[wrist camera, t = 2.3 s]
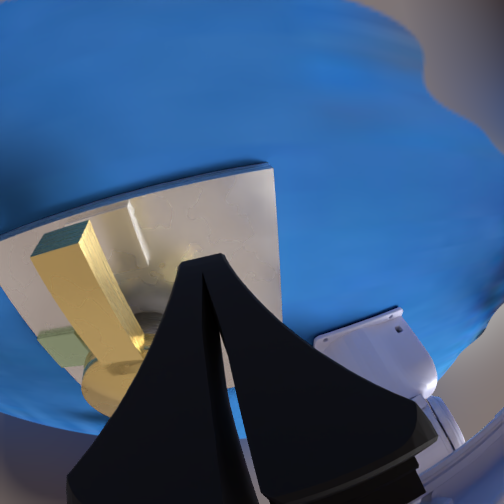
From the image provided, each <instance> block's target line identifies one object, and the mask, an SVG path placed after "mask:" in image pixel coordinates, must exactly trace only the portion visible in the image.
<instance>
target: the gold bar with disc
mask: <svg viewBox="0 0 504 504" xmlns="http://www.w3.org/2000/svg"><path fill="white" fill-rule="evenodd" d="M30 259H31V261H32V263H33V265H34V267H35V268H36V270H37V272H38V274H39V275H40V277H41V279H42V280H43V282H44V284H45V285H46V287H47V289H48V290H49V292H50V294H51V295H52V297H53V298H54V300H55V301H56V303H57V305H58V306H59V308H60V309H61V311H62V312H63V314H64V315H65V317H66V318H67V319H68V321H69V322H70V324H71V325H72V327H73V328H74V329H75V331H76V332H77V333H78V335H79V336H80V337H81V339H82V340H83V341H84V343H85V344H86V345H87V347H88V348H89V349H90V352H89V353H88V355H87V356H86V359H85V362H84V369H83V377H82V387H81V390H82V394H83V396H84V398H85V399H86V401H87V402H88V403H89V404H90V405H91V406H92V407H93V408H95V409H96V410H97V411H99V412H100V413H102V414H104V415H106V416H108V417H111V416H112V414H113V413H114V411H115V410H116V408H117V407H118V405H119V404H120V402H121V400H122V399H123V397H124V395H125V394H126V392H127V390H128V388H129V386H130V385H131V383H132V381H133V379H134V378H135V376H136V374H137V372H138V370H139V368H140V366H141V364H142V362H143V360H144V358H145V356H146V354H147V352H148V350H149V348H150V345H151V343H152V341H153V338H154V336H155V334H144V332H143V330H142V329H141V327H140V325H139V323H138V321H137V320H136V318H135V316H134V314H133V312H132V310H131V309H130V307H129V305H128V303H127V301H126V299H125V297H124V295H123V293H122V291H121V289H120V287H119V285H118V283H117V281H116V279H115V277H114V275H113V273H112V270H111V268H110V266H109V264H108V262H107V260H106V257H105V255H104V253H103V251H102V248H101V246H100V244H99V241H98V239H97V237H96V234H95V232H94V229H93V227H92V224H91V222H90V220H86V221H83V222H80V223H76V224H73V225H70V226H67V227H63V228H60V229H57V230H54V231H51V232H48V233H45V234H44V235H43V236H42V238H41V239H40V241H39V243H38V244H37V246H36V248H35V249H34V251H33V253H32V254H31V256H30Z"/></svg>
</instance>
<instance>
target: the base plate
mask: <svg viewBox="0 0 504 504" xmlns="http://www.w3.org/2000/svg"><path fill="white" fill-rule="evenodd" d="M86 220H90V222H91V224H92V227H93V229H94V232H95V234H96V237H97V239H98V241H99V244H100V246H101V248H102V251H103V253H104V255H105V257H106V260H107V262H108V264H109V266H110V268H111V270H112V273H113V275H114V277H115V279H116V281H117V283H118V285H119V287H120V289H121V291H122V293H123V295H124V297H125V299H126V301H127V303H128V305H129V307H130V309H131V310H132V312H133V314H134V316H135V318H136V320H137V321H138V323H139V325H140V327H141V329H142V330H143V332H144V334H156V331H157V329H158V326H159V324H160V322H161V319H162V317H163V314H164V311H165V308H166V306H167V303H168V300H169V297H170V294H171V291H172V288H173V285H174V281H175V278H176V274H177V270H178V266H179V264H180V263H181V262H183V261H187V260H191V259H196V258H200V257H205V256H209V255H213V254H218V253H222V254H224V255H225V257H226V259H227V261H228V262H229V264H230V265H231V267H232V268H233V270H234V271H235V273H236V274H237V275H238V277H239V278H240V279H241V280H242V282H243V283H244V284H245V285H246V286H247V288H248V289H249V290H250V291H251V292H252V293H253V294H254V295H255V297H256V298H257V299H258V300H259V301H260V302H261V303H262V304H263V305H264V306H265V307H266V308H267V309H268V310H269V311H270V312H271V313H272V314H273V315H274V316H275V317H277V318H278V319H279V320H280V321H281V322H282V301H281V281H280V262H279V245H278V229H277V214H276V199H275V185H274V172H273V167H272V166H271V165H270V164H269V163H268V162H265V163H259V164H253V165H248V166H242V167H236V168H231V169H226V170H221V171H216V172H211V173H206V174H201V175H196V176H192V177H187V178H183V179H178V180H174V181H170V182H166V183H162V184H157V185H153V186H149V187H146V188H142V189H138V190H134V191H130V192H127V193H123V194H119V195H116V196H112V197H109V198H106V199H102V200H99V201H95V202H92V203H89V204H86V205H82V206H79V207H76V208H73V209H70V210H67V211H64V212H61V213H58V214H55V215H52V216H49V217H46V218H44V219H41V220H38V221H35V222H33V223H30V224H27V225H25V226H22V227H19V228H17V229H14V230H12V231H9V232H7V233H4V234H2V235H0V285H1V287H2V289H3V290H4V292H5V293H6V295H7V296H8V298H9V299H10V301H11V302H12V304H13V305H14V306H15V308H16V309H17V311H18V312H19V313H20V315H21V316H22V318H23V319H24V320H25V322H26V323H27V324H28V326H29V327H30V328H31V329H32V331H33V332H34V333H35V335H36V336H37V340H38V341H39V343H40V344H41V345H42V346H43V347H44V348H45V350H46V351H47V352H48V353H49V354H50V355H51V357H52V358H53V359H54V360H55V361H56V362H57V363H58V364H59V365H60V366H61V368H63V367H64V368H65V369H66V370H67V371H68V372H69V373H70V374H71V376H72V377H73V378H74V379H75V380H76V381H77V382H78V383H79V384H80V385H81V386H82V377H83V369H84V362H85V359H86V356H87V355H88V353H89V352H90V349H89V348H88V347H87V345H86V344H85V343H84V341H83V340H82V339H81V337H80V336H79V335H78V333H77V332H76V331H75V329H74V328H73V327H72V325H71V324H70V322H69V321H68V319H67V318H66V317H65V315H64V314H63V312H62V311H61V309H60V308H59V306H58V305H57V303H56V301H55V300H54V298H53V297H52V295H51V294H50V292H49V290H48V289H47V287H46V285H45V284H44V282H43V280H42V279H41V277H40V275H39V274H38V272H37V270H36V268H35V267H34V265H33V263H32V261H31V259H30V256H31V254H32V253H33V251H34V249H35V248H36V246H37V244H38V243H39V241H40V239H41V238H42V236H43V235H44V234H45V233H48V232H51V231H54V230H57V229H60V228H63V227H67V226H70V225H73V224H76V223H80V222H83V221H86ZM220 339H221V347H222V354H223V362H224V370H225V377H226V385H227V388H231V387H235V385H234V381H233V377H232V372H231V368H230V363H229V359H228V355H227V352H226V349H225V346H224V344H223V341H222V338H221V335H220Z"/></svg>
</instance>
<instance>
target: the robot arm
mask: <svg viewBox="0 0 504 504" xmlns="http://www.w3.org/2000/svg"><path fill="white" fill-rule="evenodd" d="M402 313H403V309H402V308H401V307H398V308H396V309H393V310H391V311H388V312H385V313H383V314H380V315H377V316H375V317H372V318H369V319H367V320H364V321H361V322H358V323H355V324H352V325H350V326H347V327H344V328H341V329H338V330H335V331H332V332H328V333H325V334H322V335H319V336H317V337H316V338H315V339H314V345H313V346H311V345H310V344H309V343H307V342H306V341H304V340H303V339H302V338H300V337H299V336H298V335H297V334H295V333H294V332H293V331H292V330H290V329H289V328H288V327H287V326H286V325H284V324H283V323H282V322H281V321H280V320H279V319H278V318H277V317H275V316H274V315H273V314H272V313H271V312H270V311H269V310H268V309H267V308H266V307H265V306H264V305H263V304H262V303H261V302H260V301H259V300H258V299H257V298H256V297H255V295H254V294H253V293H252V292H251V291H250V290H249V289H248V288H247V286H246V285H245V284H244V283H243V282H242V280H241V279H240V278H239V277H238V275H237V274H236V273H235V271H234V270H233V268H232V267H231V265H230V264H229V262H228V261H227V259H226V257H225V255H224V254H222V253H218V254H213V255H209V256H205V257H200V258H196V259H191V260H187V261H183V262H181V263H180V264H179V266H178V270H177V274H176V278H175V281H174V285H173V288H172V291H171V294H170V297H169V300H168V303H167V306H166V308H165V311H164V314H163V317H162V319H161V322H160V324H159V326H158V329H157V331H156V334H155V336H154V338H153V341H152V343H151V345H150V348H149V350H148V352H147V354H146V356H145V358H144V360H143V362H142V364H141V366H140V368H139V370H138V372H137V374H136V376H135V378H134V379H133V381H132V383H131V385H130V386H129V388H128V390H127V392H126V394H125V395H124V397H123V399H122V400H121V402H120V404H119V405H118V407H117V408H116V410H115V411H114V413H113V414H112V416H111V417H110V419H109V420H108V422H107V423H106V425H105V426H104V428H103V429H102V431H101V432H100V434H99V435H98V437H97V438H96V440H95V441H94V442H93V444H92V445H91V446H90V448H89V449H88V450H87V451H86V453H85V454H84V455H83V456H82V458H81V459H80V460H79V461H78V463H77V464H76V465H75V466H74V468H73V469H72V470H71V471H70V473H69V474H68V475H67V483H66V484H67V485H66V495H67V504H259V502H258V499H257V496H256V493H255V490H254V487H253V484H252V481H251V478H250V475H249V472H248V468H247V465H246V462H245V458H244V455H243V451H242V448H241V445H240V441H239V437H238V434H237V430H236V426H235V423H234V419H233V415H232V411H231V407H230V402H229V397H228V392H227V385H226V377H225V370H224V362H223V354H222V347H221V339H220V335H221V338H222V341H223V344H224V346H225V349H226V352H227V355H228V359H229V363H230V368H231V372H232V377H233V381H234V385H235V390H236V394H237V398H238V403H239V407H240V411H241V415H242V420H243V424H244V428H245V432H246V436H247V440H248V444H249V448H250V452H251V456H252V460H253V464H254V468H255V472H256V475H257V479H258V483H259V487H260V491H261V493H262V494H263V495H264V496H265V497H267V499H268V500H269V502H270V504H504V407H503V409H501V410H500V411H499V412H498V413H497V414H496V415H495V418H494V419H493V420H492V421H491V422H490V423H488V424H487V425H486V426H485V427H484V428H483V429H482V430H480V431H479V432H478V433H477V434H476V435H474V436H473V437H472V438H471V439H469V440H468V441H467V442H466V443H465V439H464V437H463V434H462V433H461V431H460V428H459V427H458V425H457V423H456V421H455V419H454V418H453V416H452V415H451V413H450V411H449V409H448V408H447V406H446V405H445V403H444V402H443V400H442V399H441V398H440V397H436V396H435V397H434V396H433V395H431V394H432V393H433V392H434V390H435V388H436V384H437V373H436V368H435V365H434V363H433V360H432V358H431V357H430V355H429V353H428V352H427V351H426V349H425V348H424V346H423V345H422V343H421V342H420V341H419V339H418V338H417V336H416V335H415V334H414V332H413V331H412V330H411V328H410V327H409V325H408V324H407V323H406V321H405V320H404V319H403V317H402V316H401V315H402ZM430 395H431V396H430ZM426 398H427V401H428V403H429V404H430V406H431V409H432V411H433V412H432V411H431V409H430V407H429V406H428V404H427V402H426V401H425V399H426ZM433 413H434V414H433ZM434 415H435V416H434ZM435 417H436V418H435ZM447 438H448V439H447ZM448 440H449V441H448ZM449 442H450V443H449Z"/></svg>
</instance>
